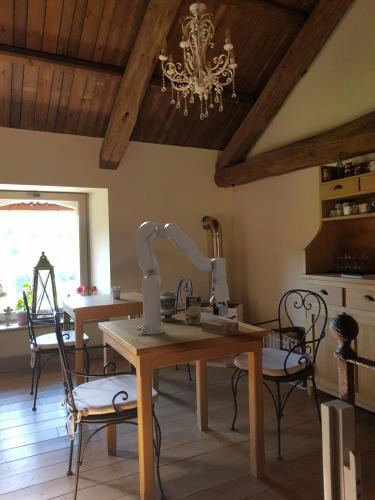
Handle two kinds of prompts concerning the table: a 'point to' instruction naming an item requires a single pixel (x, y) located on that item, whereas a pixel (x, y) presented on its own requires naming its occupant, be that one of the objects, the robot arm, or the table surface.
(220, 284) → the robot arm
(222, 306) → the slate block
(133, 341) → the table surface
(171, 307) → the apothecary jar
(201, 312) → the lidded bowl
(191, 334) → the table surface
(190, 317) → the coffee box
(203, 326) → the walnut block
